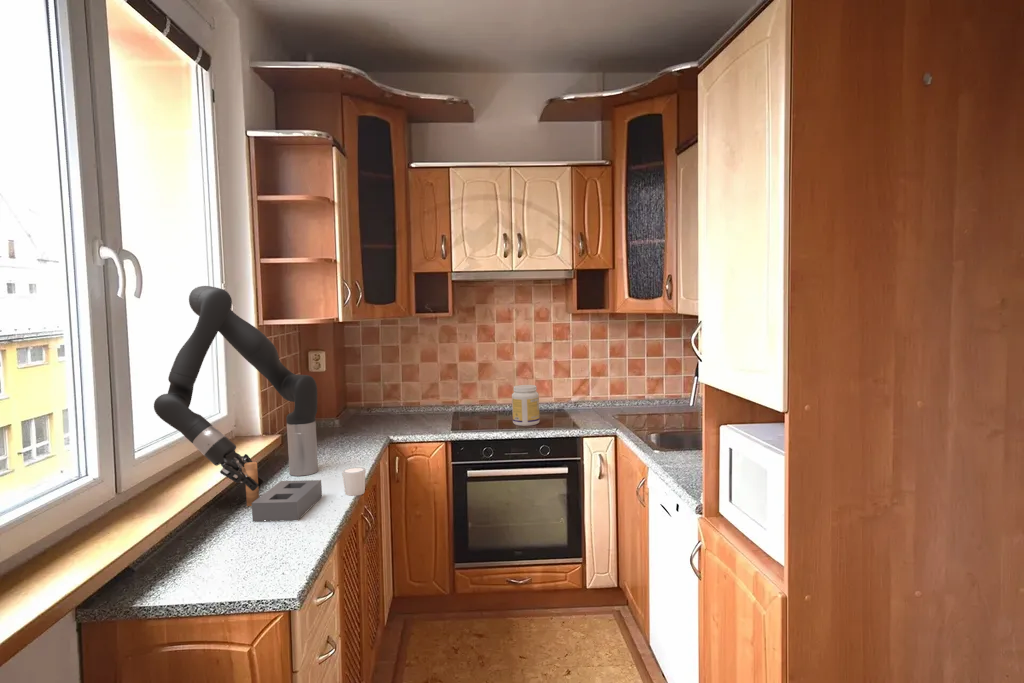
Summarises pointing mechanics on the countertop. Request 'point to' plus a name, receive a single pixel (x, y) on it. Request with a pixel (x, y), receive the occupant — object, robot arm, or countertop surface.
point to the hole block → (287, 500)
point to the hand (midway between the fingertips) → (258, 486)
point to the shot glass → (354, 481)
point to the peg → (253, 473)
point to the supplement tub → (525, 405)
